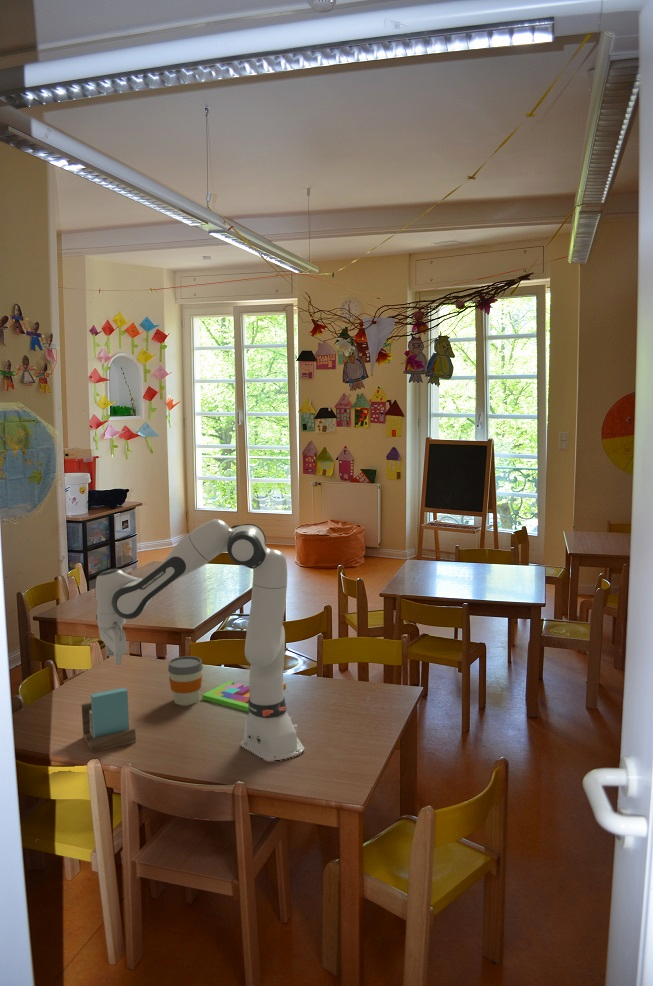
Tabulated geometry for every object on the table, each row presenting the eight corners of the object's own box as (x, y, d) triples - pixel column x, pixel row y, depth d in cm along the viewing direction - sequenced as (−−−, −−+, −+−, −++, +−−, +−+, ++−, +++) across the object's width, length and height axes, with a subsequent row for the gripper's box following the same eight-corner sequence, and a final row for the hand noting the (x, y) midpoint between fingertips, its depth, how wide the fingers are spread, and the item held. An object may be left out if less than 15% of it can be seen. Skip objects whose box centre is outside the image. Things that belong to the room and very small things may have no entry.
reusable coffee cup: (184, 691, 295) (183, 653, 293) (210, 697, 289) (209, 659, 287) (162, 703, 285) (160, 664, 283) (188, 709, 278) (187, 670, 276)
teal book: (129, 736, 254) (127, 690, 252) (95, 744, 248) (93, 697, 246) (127, 733, 256) (124, 687, 254) (93, 741, 251) (90, 694, 249)
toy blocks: (250, 713, 276) (290, 690, 297) (250, 707, 276) (290, 684, 296) (202, 700, 288) (244, 679, 309) (202, 694, 288) (244, 673, 309)
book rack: (135, 742, 253) (134, 709, 252) (92, 752, 246) (90, 718, 245) (125, 727, 264) (123, 695, 263) (83, 736, 257) (81, 704, 256)
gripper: (130, 625, 242) (132, 667, 244) (113, 609, 260) (115, 649, 262) (110, 628, 239) (112, 671, 241) (94, 612, 257) (96, 653, 258)
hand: (114, 659), depth 251 cm, fingers open, 8 cm apart
